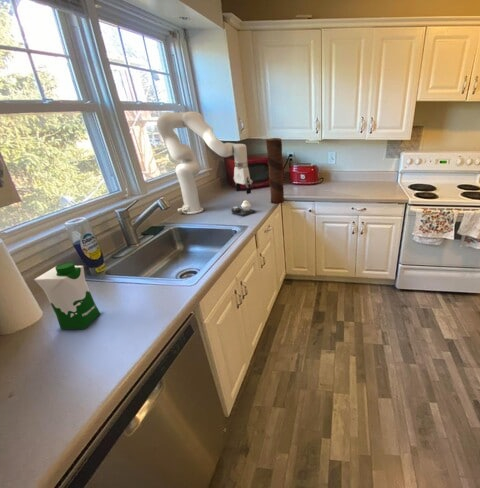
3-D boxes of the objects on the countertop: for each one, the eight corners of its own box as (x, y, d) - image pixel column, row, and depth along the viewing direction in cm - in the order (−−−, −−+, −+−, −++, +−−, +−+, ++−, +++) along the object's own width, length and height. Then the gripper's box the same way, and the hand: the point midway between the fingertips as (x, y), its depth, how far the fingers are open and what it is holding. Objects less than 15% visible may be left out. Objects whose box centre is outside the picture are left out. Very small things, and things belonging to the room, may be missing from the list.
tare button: (235, 210, 181) (235, 208, 181) (232, 209, 183) (232, 207, 182) (239, 209, 184) (238, 207, 183) (236, 208, 185) (235, 206, 184)
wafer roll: (281, 204, 204) (277, 139, 185) (268, 203, 207) (263, 138, 188) (287, 200, 213) (284, 137, 194) (274, 199, 216) (270, 137, 197)
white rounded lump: (242, 209, 188) (241, 199, 185) (251, 209, 188) (250, 198, 185) (241, 212, 182) (239, 201, 179) (250, 211, 183) (249, 201, 180)
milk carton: (86, 330, 84) (60, 273, 76) (54, 331, 83) (25, 274, 75) (105, 312, 92) (84, 258, 83) (76, 312, 91) (52, 258, 83)
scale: (241, 217, 178) (241, 212, 177) (230, 213, 184) (229, 209, 182) (255, 212, 187) (255, 207, 186) (244, 209, 193) (243, 204, 191)
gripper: (227, 163, 174) (230, 190, 182) (246, 167, 166) (248, 195, 173) (236, 162, 180) (239, 188, 187) (255, 166, 171) (257, 193, 179)
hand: (243, 192), depth 180 cm, fingers open, 9 cm apart
